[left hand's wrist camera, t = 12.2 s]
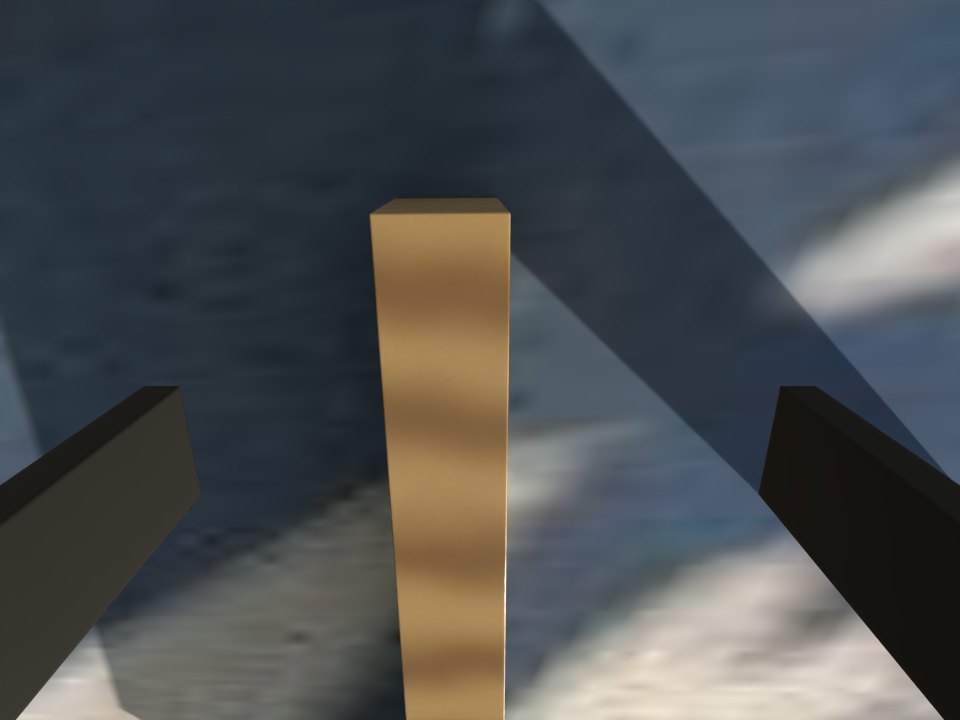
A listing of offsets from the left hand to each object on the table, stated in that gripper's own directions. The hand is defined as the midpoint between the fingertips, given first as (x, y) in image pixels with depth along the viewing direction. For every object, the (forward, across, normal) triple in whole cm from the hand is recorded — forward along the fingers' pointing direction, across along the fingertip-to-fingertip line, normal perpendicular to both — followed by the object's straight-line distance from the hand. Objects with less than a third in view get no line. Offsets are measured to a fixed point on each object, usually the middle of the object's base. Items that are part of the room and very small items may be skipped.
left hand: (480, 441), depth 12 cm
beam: (+17, -2, -22) cm, 28 cm away
